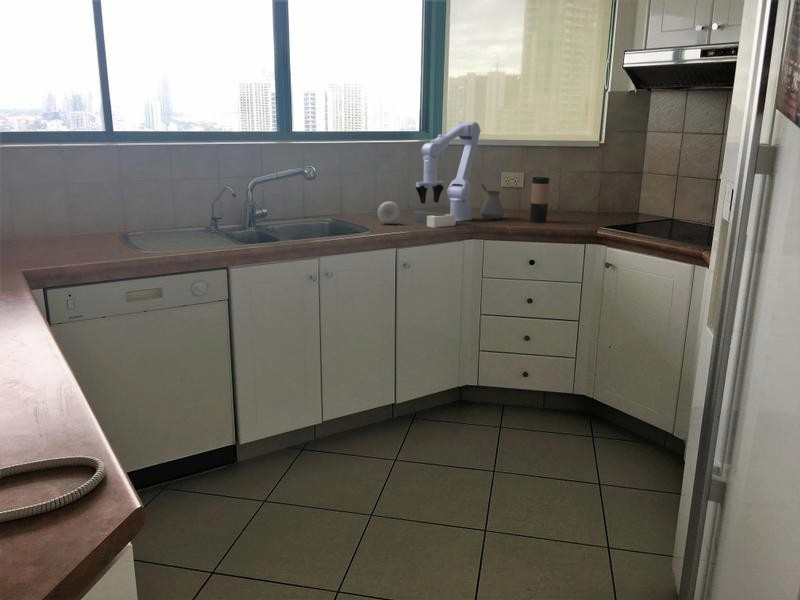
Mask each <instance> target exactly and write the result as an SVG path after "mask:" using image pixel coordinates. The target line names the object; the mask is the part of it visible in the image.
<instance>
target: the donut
mask: <svg viewBox="0 0 800 600" xmlns="http://www.w3.org/2000/svg"><path fill="white" fill-rule="evenodd" d="M387 210H391V212H392V213H391V215H389V216H388V215H386V211H387ZM400 214H401V211H400V207H399V206H398V204H397V203H395V202H393V201H390V200H389V201H384V202H382V203H381V204H380V205H379V206H378V209H377V218H378V219H379V221H380V222H381V223H383V224H385V225H391V224H394V223H395V222H397V221H398V220H399V218H400Z"/></svg>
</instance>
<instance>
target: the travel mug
mask: <svg viewBox="0 0 800 600" xmlns="http://www.w3.org/2000/svg"><path fill="white" fill-rule="evenodd" d="M531 183H532V184H531V197H530V198H531V199H530V214H529V215H530V223H533V222H535V224H545V222H546V223H547V217H548V216H547V215H548V207H549V206H548V205H549V194H550V191H549V190H550V177H546V176H545V177H543V176H540V177H539V176H535V177H533V176H532V182H531Z"/></svg>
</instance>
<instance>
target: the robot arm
mask: <svg viewBox="0 0 800 600" xmlns="http://www.w3.org/2000/svg"><path fill="white" fill-rule="evenodd" d="M481 132H482V131H481V128H480V125H479V123H478V122H476V121H474V122H462V121H460V122H458V123H456V124H455V125H454V127H453V128H452V129H451V130H449V131H448V132H446V134H440V133H439V134H438V135H437V137H436V138H434V139H431V140H430V142H427V143H424V144H423V145H422V147H421V149H420V153H421V156H422V160H423V181H417V182H416V181H415V190H416V192H417V194H418V197H419V201H420V203H421V204H423V205H424V204H426V200H427V199H426V198H427V193H428V187H431V188H432V191H433V192H432V193H433V202H434V203H436V204H437V203H439V200H440V196H441V194H442V192H443V191H444V189H445V188H444V187H445V186H444V185H445V183H444V182H445V181H444V180H437V179H438V178H437V177H438V176H437V175H438V173H437V172H438V157H439V156H440V155H441V152H442V151H443V150H444V149H446V148H447V147H448V146H449V145H450V142H451V141H454V140H455V139H456V138H459V139H460V141H461V142H462V143H464V148H463V151H462V156H461V159H460V162H459V166H458V170H457V174H456V176H455V178H454V179H453V180H451V181H450V184H449V186H448V188H447V192H446V193H447V194H446V195H447V197H448V199H449V201H450V204H449V205H450V209H449V210H450V211H449V214H452V215H456V222H461V221H462V222H463V221H471V220H473V218H471V217H472V204H471V201H469V199H470V197H471V190H472V189H471V188H472V185H471V183H469V177H470V173H471V170H472V166H473V163H474V159H475V154H476V151H477V148H478V143H479V138H480V135H481Z"/></svg>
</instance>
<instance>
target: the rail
mask: <svg viewBox="0 0 800 600" xmlns="http://www.w3.org/2000/svg"><path fill="white" fill-rule="evenodd" d="M444 214H445V213H436V212H430V211H429V212H428V211H424V210H423V211H422V210H413V223H418V224H424V225H427V216H432V215H433V216H445V215H444Z"/></svg>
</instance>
